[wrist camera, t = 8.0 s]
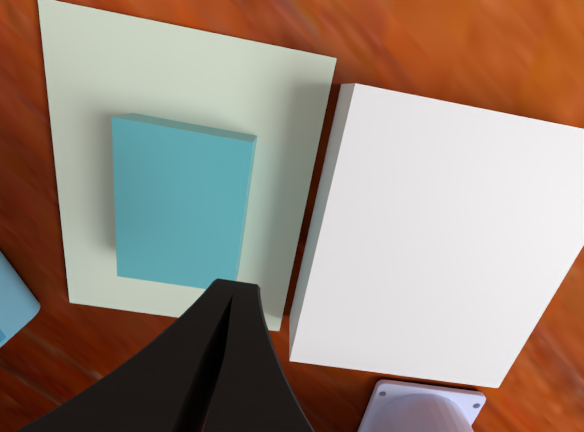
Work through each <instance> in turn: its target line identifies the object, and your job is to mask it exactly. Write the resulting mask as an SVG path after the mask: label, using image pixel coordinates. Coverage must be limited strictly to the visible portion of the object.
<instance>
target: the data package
mask: <svg viewBox="0 0 584 432" xmlns="http://www.w3.org/2000/svg"><path fill="white" fill-rule="evenodd" d="M39 310H40V304H39V302H38V301H37V300H36V298H35V297H34V296H33V294H32V293H31V291H30V290H29V289H28V287H27V286H26V285H25V283H24V282H23V281H22V279H21V278H20V277H19V275H18V274H17V273H16V271H15V270H14V268H13V267H12V266H11V264H10V263H9V262H8V260H7V259H6V258H5V256H4V255H3V254H2V252H1V251H0V347H1V346H3V345H4V344H5V343H6V342H7V341H8V340H9V339H10V338H11V337H13V336H14V335H15V334H16V333H17V332H18V331H19V330H20V329H21V328H22V327H24V326H25V325H26V324H27V323H28V322H29V321H30V320H31V319H32V318H33V317H34V316H35V315H36V314H37V313H38V311H39Z"/></svg>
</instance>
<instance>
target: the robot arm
mask: <svg viewBox="0 0 584 432" xmlns="http://www.w3.org/2000/svg"><path fill="white" fill-rule="evenodd" d="M485 401H486V398H485V396H484V394H483V393H482V392H478V391H470V390H463V389H455V388H447V387H439V386H432V385H424V384H416V383H408V382H401V381H393V380H385V379H382V380H379V381H378V382H377V383H376V386H375V388H374V391H373V393H372V396H371V398H370V401H369V404H368V406H367V409H366V411H365V414H364V416H363V419H362V421H361V424H360V427H359V429H358V432H474V431H473V430H472V428H471V425H472V423H473V422H474V420H475V418H476V416H477V415H478V413H479V411H480V410H481V408H482V406H483V405H484V403H485ZM209 408H210V409H209ZM208 411H209V412H208ZM207 414H208V416H207ZM206 417H207V419H206ZM205 420H206V423H205ZM204 423H205V426H204ZM203 426H204V430H203V432H315V431H314V429H313V428H312V426H311V424H310V423H309V421H308V419H307V418H306V416H305V414H304V412H303V410H302V408H301V406H300V405H299V403H298V401H297V399H296V397H295V395H294V393H293V391H292V389H291V387H290V385H289V382H288V380H287V378H286V376H285V374H284V371H283V369H282V367H281V364H280V362H279V359H278V357H277V354H276V351H275V349H274V346H273V343H272V340H271V337H270V334H269V331H268V327H267V324H266V321H265V317H264V312H263V308H262V302H261V294H260V287H259V286H258V284H252V283H246V282H239V281H232V280H226V279H219V278H217V279H216V280H214V281H213V282H212V283H211V284H210V286H209V287H208V288H207V289H206V290H205V291H204V293H203V294H202V295H201V296H200V297H199V298H198V299H197V300H196V301H195V302H194V303H193V304H192V305H191V306H190V307H189V308H188V309H187V310H186V311H185V312H184V313H183V314H182V315H181V316H180V317H179V318H178V319H177V320H176V321H175V322H174V323H172V324H171V325H170V326H169V327H168V328H167V329H166V330H164V331H163V332H162V333H161V334H160V335H159V336H157V337H156V338H155V339H154V340H153V341H152V342H151V343H149V344H148V345H147V346H146V347H144V348H143V349H142V350H141V351H139V352H138V353H137V354H135V355H134V356H133V357H132V358H130V359H129V360H127V361H126V362H125V363H123V364H122V365H121V366H119V367H118V368H117V369H115V370H114V371H112V372H111V373H109V374H108V375H106V376H105V377H103V378H102V379H101V380H99V381H98V382H96V383H95V384H93V385H92V386H90V387H89V388H87V389H86V390H84V391H83V392H81V393H80V394H78V395H76V396H75V397H73V398H72V399H70V400H68V401H67V402H65V403H64V404H62V405H60V406H59V407H57V408H55V409H53V410H52V411H50V412H48V413H47V414H45V415H43V416H41V417H40V418H38V419H36V420H34V421H33V422H31V423H29V424H28V425H26V426H24V427H22V428H21V429H19V430H17V431H16V432H202V429H203Z"/></svg>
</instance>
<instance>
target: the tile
mask: <svg viewBox="0 0 584 432" xmlns="http://www.w3.org/2000/svg"><path fill="white" fill-rule="evenodd" d="M256 142H257V136H255V135H250V134H244V133H239V132H234V131H228V130H223V129H217V128H212V127H206V126H201V125H195V124H190V123H184V122H179V121H173V120H168V119H162V118H157V117H151V116H146V115H141V114H135V113H132V114H126V115H120V116H114V117H112V144H113V173H114V202H115V231H116V260H117V276H119V277H126V278H133V279H140V280H147V281H154V282H160V283H167V284H174V285H181V286H188V287H195V288H202V289H207V288H208V287H209V286H210V284H211V283H212V282H213V281H214V280H216V279H217V278H219V279H226V280H232V281H236V280H237V277H238V273H239V266H240V259H241V252H242V244H243V237H244V230H245V222H246V215H247V208H248V201H249V193H250V186H251V179H252V171H253V164H254V157H255V149H256Z"/></svg>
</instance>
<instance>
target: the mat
mask: <svg viewBox="0 0 584 432" xmlns="http://www.w3.org/2000/svg"><path fill="white" fill-rule="evenodd" d="M38 7H39V17H40V26H41V36H42V45H43V55H44V64H45V74H46V83H47V93H48V102H49V112H50V121H51V131H52V140H53V150H54V159H55V169H56V178H57V188H58V197H59V207H60V216H61V226H62V235H63V245H64V254H65V264H66V273H67V283H68V292H69V302H70V303H76V304H84V305H91V306H98V307H106V308H113V309H120V310H127V311H135V312H142V313H149V314H157V315H164V316H171V317H178V318H179V317H180V316H181V315H182V314H183V313H184V312H185V311H186V310H187V309H188V308H189V307H190V306H191V305H192V304H193V303H194V302H195V301H196V300H197V299H198V298H199V297H200V296H201V295H202V294H203V293H204V291H205V290H206V289H202V288H195V287H188V286H181V285H174V284H167V283H160V282H154V281H147V280H140V279H133V278H126V277H119V276H117V260H116V231H115V202H114V173H113V144H112V117H114V116H120V115H126V114H132V113H135V114H141V115H146V116H151V117H157V118H162V119H168V120H173V121H179V122H184V123H190V124H195V125H201V126H206V127H212V128H217V129H223V130H228V131H234V132H239V133H244V134H250V135H255V136H257V142H256V149H255V157H254V164H253V171H252V179H251V186H250V193H249V201H248V208H247V215H246V222H245V230H244V237H243V244H242V252H241V259H240V266H239V273H238V277H237V280H236V281H239V282H246V283H252V284H258V286H259V287H260V294H261V302H262V308H263V312H264V317H265V321H266V324H267V327H268V330H273V331H279V329H280V325H281V320H282V315H283V310H284V306H285V301H286V296H287V292H288V287H289V282H290V277H291V273H292V268H293V263H294V258H295V254H296V249H297V244H298V239H299V235H300V230H301V225H302V220H303V216H304V211H305V206H306V201H307V197H308V192H309V187H310V182H311V178H312V173H313V168H314V164H315V159H316V154H317V149H318V145H319V140H320V135H321V130H322V126H323V121H324V116H325V111H326V107H327V102H328V97H329V92H330V88H331V83H332V78H333V73H334V69H335V64H336V59H337V58H333V57H328V56H323V55H318V54H314V53H309V52H304V51H299V50H294V49H289V48H284V47H279V46H275V45H270V44H265V43H260V42H255V41H250V40H245V39H240V38H236V37H231V36H226V35H221V34H216V33H211V32H206V31H201V30H196V29H192V28H187V27H182V26H177V25H172V24H167V23H162V22H157V21H153V20H148V19H143V18H138V17H133V16H128V15H123V14H118V13H114V12H109V11H104V10H99V9H94V8H89V7H84V6H79V5H75V4H70V3H65V2H60V1H55V0H38Z"/></svg>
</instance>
